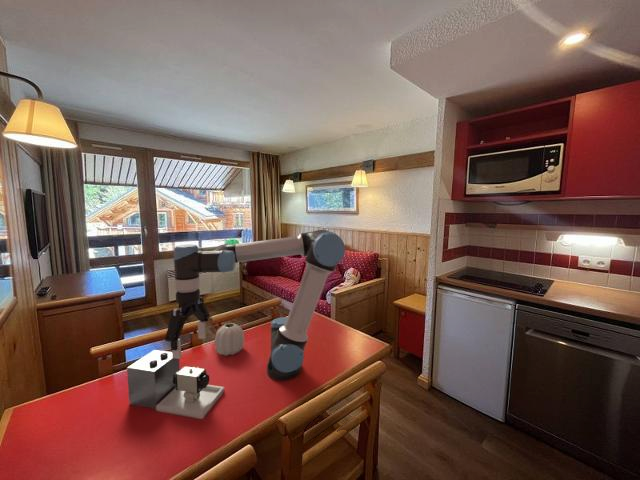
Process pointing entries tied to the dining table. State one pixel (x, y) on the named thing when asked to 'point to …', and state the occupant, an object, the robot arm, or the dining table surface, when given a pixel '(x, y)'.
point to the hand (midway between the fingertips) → (190, 347)
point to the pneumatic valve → (191, 382)
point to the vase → (229, 339)
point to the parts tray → (197, 409)
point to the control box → (151, 378)
